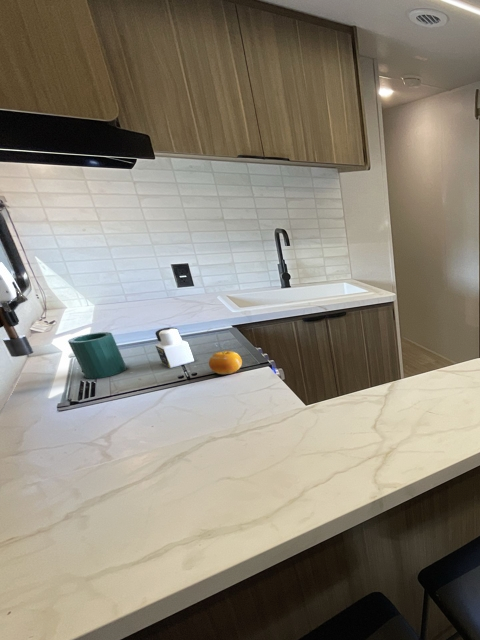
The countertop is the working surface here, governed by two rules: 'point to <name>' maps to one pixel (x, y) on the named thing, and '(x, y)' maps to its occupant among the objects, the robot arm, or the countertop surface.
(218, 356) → the fruit
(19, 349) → the brush
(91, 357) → the jar
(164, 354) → the medicine bottle
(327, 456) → the countertop surface
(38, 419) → the countertop surface
